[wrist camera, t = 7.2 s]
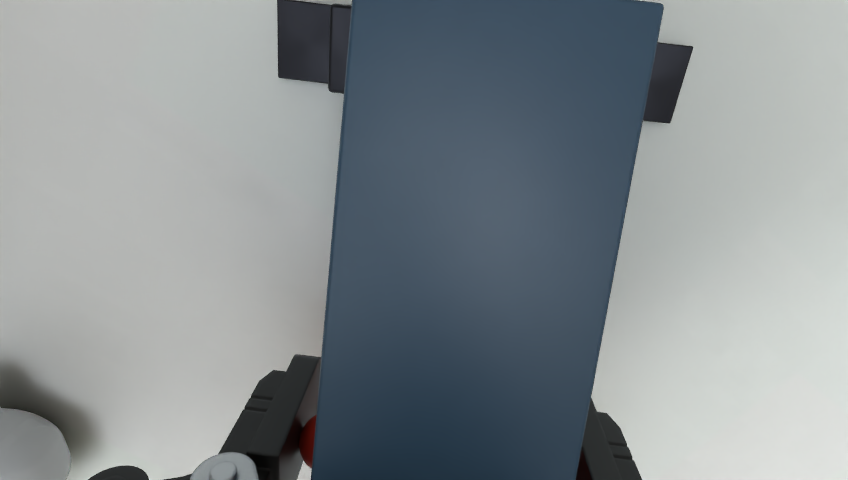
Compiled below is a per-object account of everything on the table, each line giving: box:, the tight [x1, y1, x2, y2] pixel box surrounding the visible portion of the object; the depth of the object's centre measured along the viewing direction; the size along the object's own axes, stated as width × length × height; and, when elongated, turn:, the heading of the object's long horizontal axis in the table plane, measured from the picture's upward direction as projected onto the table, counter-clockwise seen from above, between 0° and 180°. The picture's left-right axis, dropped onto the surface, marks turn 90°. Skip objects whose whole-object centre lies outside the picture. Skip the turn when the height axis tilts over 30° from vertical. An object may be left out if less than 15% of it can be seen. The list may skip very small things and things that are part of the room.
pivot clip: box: [277, 0, 693, 123], centre depth 13 cm, size 11×2×2 cm, turn 84°
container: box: [299, 0, 664, 480], centre depth 11 cm, size 7×11×6 cm, turn 174°
